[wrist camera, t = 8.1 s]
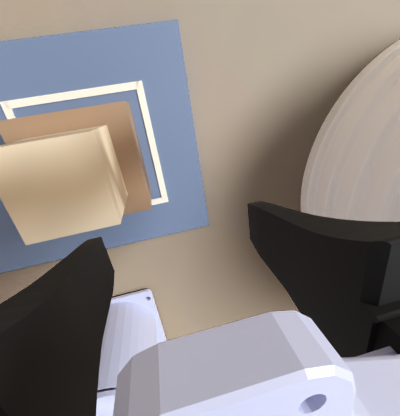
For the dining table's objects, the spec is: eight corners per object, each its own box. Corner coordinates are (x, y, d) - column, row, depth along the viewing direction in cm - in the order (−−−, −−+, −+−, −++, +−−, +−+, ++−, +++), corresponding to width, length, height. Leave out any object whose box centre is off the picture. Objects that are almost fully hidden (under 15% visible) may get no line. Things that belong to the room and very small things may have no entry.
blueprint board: (207, 221, 23) (209, 225, 23) (-114, 294, 20) (-125, 302, 19) (176, 23, 17) (178, 19, 16) (-307, 83, 14) (-336, 81, 13)
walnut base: (151, 190, 20) (151, 209, 17) (66, 208, 20) (47, 231, 16) (128, 102, 17) (123, 100, 14) (28, 118, 17) (-6, 121, 13)
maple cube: (127, 194, 16) (120, 224, 12) (58, 209, 15) (26, 245, 11) (106, 124, 14) (89, 131, 10) (26, 138, 14) (-25, 151, 10)
